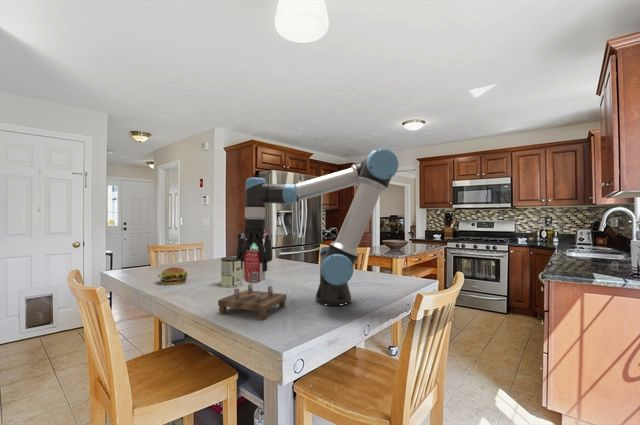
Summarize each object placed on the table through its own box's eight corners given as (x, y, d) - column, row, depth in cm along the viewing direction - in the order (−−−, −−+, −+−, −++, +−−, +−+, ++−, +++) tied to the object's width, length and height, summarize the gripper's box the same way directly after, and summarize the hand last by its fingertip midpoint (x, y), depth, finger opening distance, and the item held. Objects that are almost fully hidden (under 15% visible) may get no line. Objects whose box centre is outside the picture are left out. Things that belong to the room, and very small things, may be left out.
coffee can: (225, 282, 164) (226, 256, 165) (244, 283, 163) (244, 256, 164) (217, 287, 154) (217, 259, 154) (237, 288, 153) (237, 259, 153)
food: (157, 281, 166) (157, 266, 166) (185, 279, 173) (186, 265, 173) (157, 286, 154) (158, 270, 154) (188, 284, 161) (188, 268, 161)
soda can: (256, 279, 122) (256, 248, 122) (266, 282, 117) (267, 250, 117) (240, 281, 117) (240, 249, 117) (250, 284, 112) (250, 251, 112)
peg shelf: (286, 307, 121) (286, 285, 122) (263, 320, 105) (263, 295, 106) (245, 302, 128) (245, 281, 128) (218, 313, 112) (218, 290, 112)
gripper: (282, 219, 117) (281, 279, 117) (238, 218, 124) (237, 275, 124) (272, 219, 110) (271, 283, 110) (226, 218, 117) (225, 278, 117)
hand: (253, 279), depth 117 cm, fingers closed on soda can, 7 cm apart
